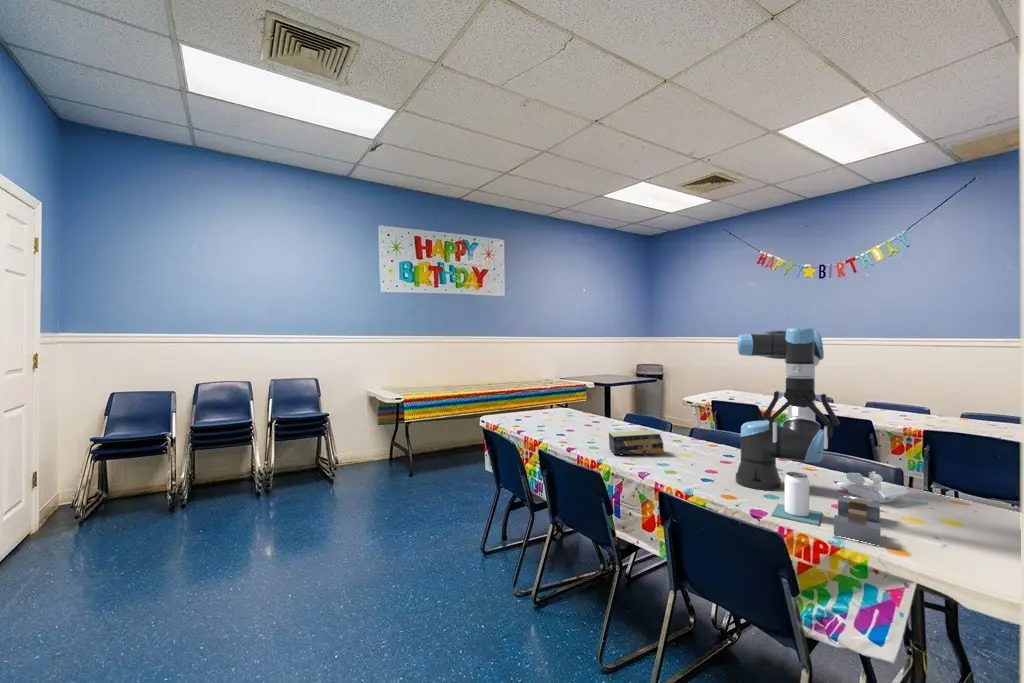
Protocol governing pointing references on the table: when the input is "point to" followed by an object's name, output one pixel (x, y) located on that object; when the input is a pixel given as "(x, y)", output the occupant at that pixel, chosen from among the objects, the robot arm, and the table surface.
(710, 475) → the table surface
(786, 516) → the mat
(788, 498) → the can
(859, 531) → the vise
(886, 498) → the toy boat
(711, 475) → the table surface
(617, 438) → the toy bus
